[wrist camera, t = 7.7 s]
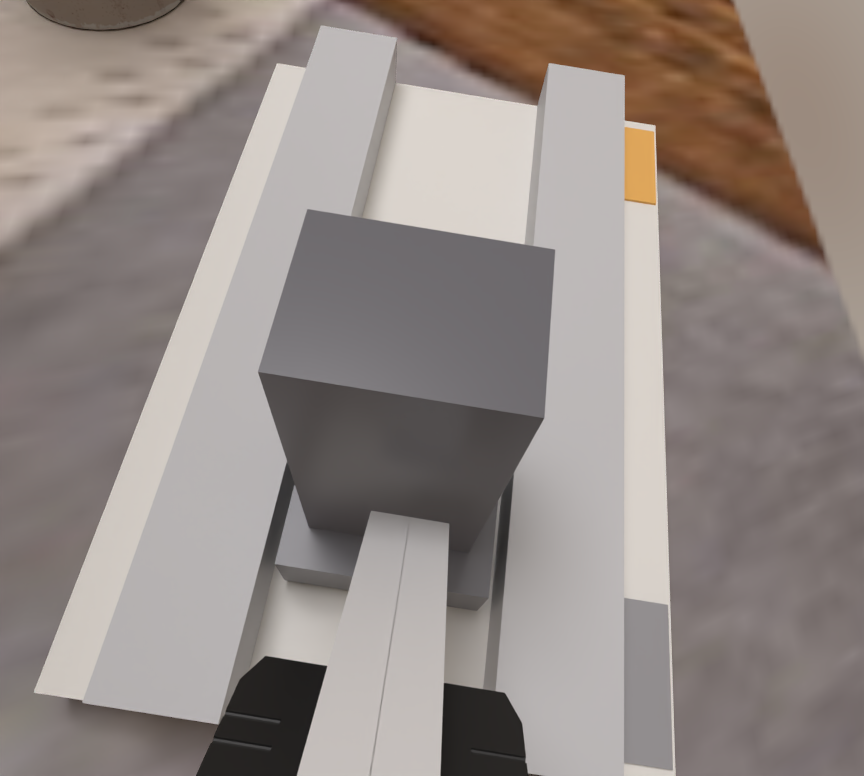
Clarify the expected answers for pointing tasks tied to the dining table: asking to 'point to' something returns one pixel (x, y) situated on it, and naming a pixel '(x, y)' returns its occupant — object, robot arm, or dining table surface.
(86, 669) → the switch board
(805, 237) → the dining table surface
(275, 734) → the robot arm
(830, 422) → the dining table surface
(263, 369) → the switch lever
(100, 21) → the thermos bottle
